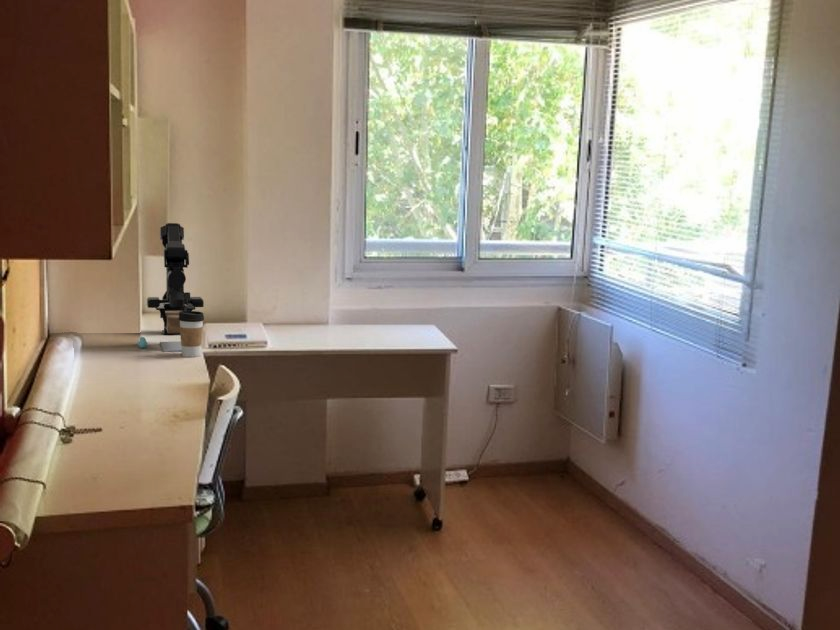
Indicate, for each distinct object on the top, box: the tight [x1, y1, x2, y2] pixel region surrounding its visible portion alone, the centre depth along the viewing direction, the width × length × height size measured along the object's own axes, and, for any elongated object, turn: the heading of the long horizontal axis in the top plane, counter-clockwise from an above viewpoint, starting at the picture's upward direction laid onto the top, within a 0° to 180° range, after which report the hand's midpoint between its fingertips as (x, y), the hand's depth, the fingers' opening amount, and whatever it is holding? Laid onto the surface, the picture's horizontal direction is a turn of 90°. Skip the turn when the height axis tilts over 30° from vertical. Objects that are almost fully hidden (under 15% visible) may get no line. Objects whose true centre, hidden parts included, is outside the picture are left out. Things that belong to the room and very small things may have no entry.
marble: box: [137, 339, 148, 349], centre depth 313 cm, size 3×3×3 cm
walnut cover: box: [165, 311, 180, 333], centre depth 316 cm, size 12×6×6 cm, turn 21°
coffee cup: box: [178, 310, 205, 358], centre depth 305 cm, size 8×8×15 cm
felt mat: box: [159, 340, 182, 353], centre depth 317 cm, size 14×9×1 cm, turn 20°
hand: (175, 326), depth 316 cm, fingers closed on walnut cover, 6 cm apart
